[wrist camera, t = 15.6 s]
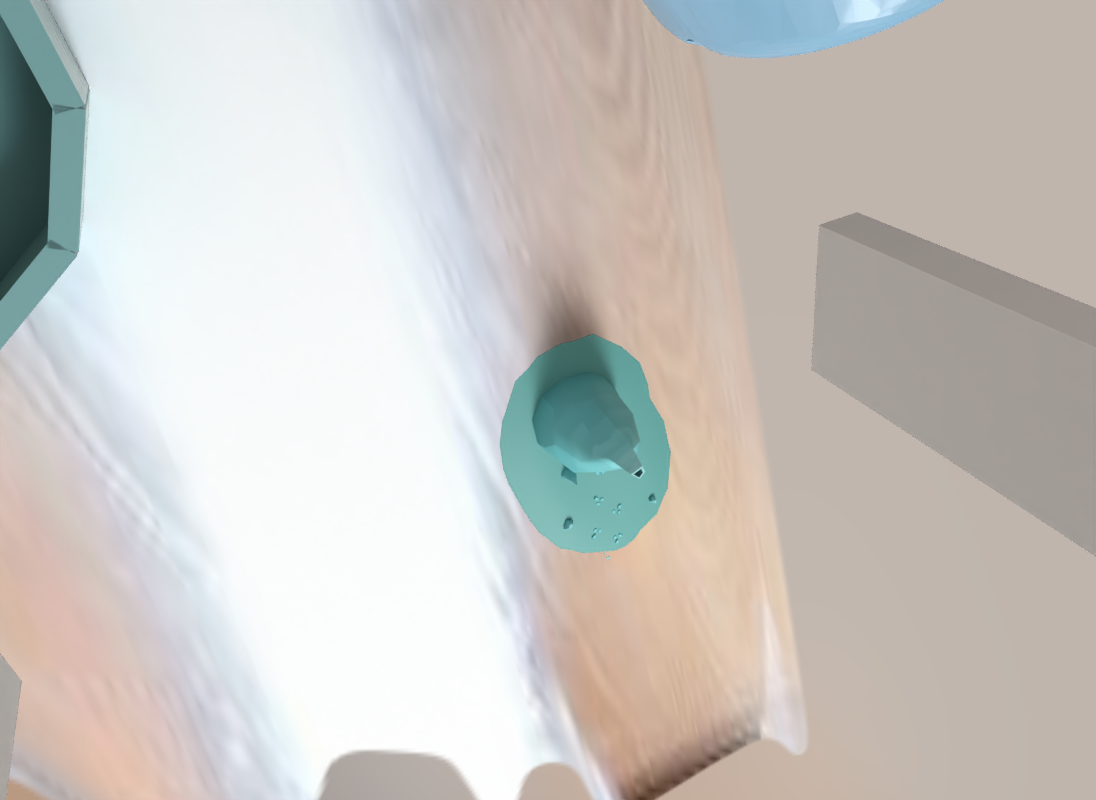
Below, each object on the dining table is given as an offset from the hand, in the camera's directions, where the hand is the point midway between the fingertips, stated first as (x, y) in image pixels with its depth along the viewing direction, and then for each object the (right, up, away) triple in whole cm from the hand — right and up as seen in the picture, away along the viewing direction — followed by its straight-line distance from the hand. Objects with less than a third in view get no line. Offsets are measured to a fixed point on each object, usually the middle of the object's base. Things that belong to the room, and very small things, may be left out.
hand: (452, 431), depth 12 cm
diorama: (+4, -3, +41) cm, 41 cm away
